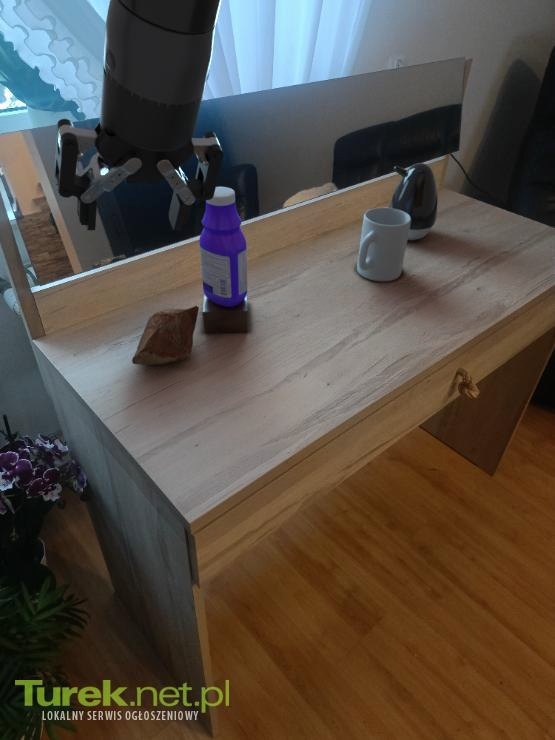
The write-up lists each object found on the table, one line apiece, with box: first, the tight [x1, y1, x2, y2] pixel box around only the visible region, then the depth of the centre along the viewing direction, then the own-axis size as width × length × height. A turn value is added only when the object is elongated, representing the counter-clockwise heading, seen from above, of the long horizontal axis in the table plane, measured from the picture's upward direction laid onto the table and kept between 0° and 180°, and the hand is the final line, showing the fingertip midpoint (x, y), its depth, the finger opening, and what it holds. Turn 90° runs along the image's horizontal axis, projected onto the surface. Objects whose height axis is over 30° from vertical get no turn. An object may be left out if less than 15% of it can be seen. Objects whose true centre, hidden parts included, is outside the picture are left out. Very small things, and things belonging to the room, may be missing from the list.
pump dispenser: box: [388, 162, 438, 241], centre depth 104 cm, size 10×10×15 cm
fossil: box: [131, 305, 200, 366], centre depth 73 cm, size 13×8×10 cm
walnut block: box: [202, 293, 249, 334], centre depth 81 cm, size 7×8×4 cm
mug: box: [356, 207, 411, 282], centre depth 91 cm, size 12×8×11 cm
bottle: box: [198, 186, 248, 307], centre depth 74 cm, size 7×6×17 cm
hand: (133, 224), depth 50 cm, fingers open, 8 cm apart
